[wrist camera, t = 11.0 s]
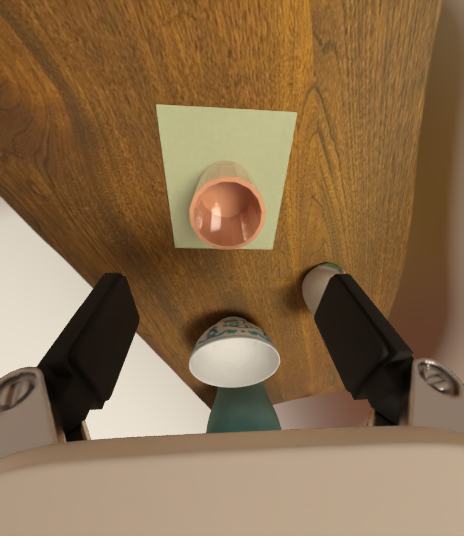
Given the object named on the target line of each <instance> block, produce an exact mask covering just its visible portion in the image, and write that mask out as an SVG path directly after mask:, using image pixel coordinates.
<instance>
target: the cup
mask: <svg viewBox="0 0 464 536" xmlns="http://www.w3.org/2000/svg"><path fill="white" fill-rule="evenodd" d="M189 214H190V224H191V226H192V228H193V229H194V231H195V233H196V235H197V236H198V237H199V238H200V239H201V240H202V241H203V242H205V243H206V244H207V245H209V246H212V247H214V248H217V249H220V250H233V249H237V248H240V247H243V246H246V245H247V244H249V243H250V242H251V241H252V240H254V239H255V238H256V237H257V236H258V234H259V233H260V231H261V229H262V228H263V226H264V222H265V215H266V209H265V205H264V202H263V198H262V196H261V194H260V192H259V190H258V188H257V186H256V184H255V182H254V180H253V178H252V176H251V175H250V174H249V172H248V171H247V170H246V169H245V168H244V167H243V166H241V165H240V164H238V163H236V162H232V161H219V162H216V163H214V164H212V165H210V166H209V167H208V168H207V169H205V171H204V172H203V173H202V174H201V176H200V179H199V182H198V185H197V188H196V191H195V193H194V196H193V199H192V202H191V205H190V208H189Z"/></svg>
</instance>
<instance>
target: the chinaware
mask: <svg viewBox="0 0 464 536" xmlns="http://www.w3.org/2000/svg"><path fill="white" fill-rule="evenodd" d="M279 364H280V357H279V354H278V351H277V349H276V347H275V345H274V344H273V342H272V341H271V339H270V338H269V337H268V335H267V334H266V333H265V332H264V331H263V330H262V329H260V328H259V327H258V326H256V325H254V324H252V323H250V322H247V321H246V320H245V319H243V318H240V317H227V318H224V319H222V320H220V321H219V322H218V323H217V324H215V325H213V326H212V327H210V328H209V329H208V330H207V331H205V332H204V333H203V335H202V336H201V337H200V338H199V340H198V341H197V343H196V345H195V347H194V349H193V351H192V354H191V357H190V360H189V368H190V371H191V373H192V374H193V375H194V376H195V377H196V378H197V379H199V380H200V381H202V382H204V383H207V384H210V385H213V386H218V387H243V386H249V385H253V384H256V383H259V382H261V381H263V380H265V379H267V378H269V377H270V376H271V375H273V374H274V373H275V371H276V370H277V369H278V367H279Z"/></svg>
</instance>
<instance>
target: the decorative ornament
mask: <svg viewBox="0 0 464 536" xmlns="http://www.w3.org/2000/svg"><path fill="white" fill-rule="evenodd" d="M335 274H346V273H345V271H344V270H343V269H342V268H340V267H338V266H337V265H334V264H331V263H328V262H327V263H323V264H320V265H318V266H317V267H316V268H314V269H312V270H311V271H310V272H309V273H308V274H307V275H306V277H305V278H304V281H303V284H302V293H303V297H304V300H305V303H306V305H307V307H308V308H309V310H310V311H311V313H312V314H313V315H315V312H316V310H317V308H318V305H319V303H320V300H321V298H322V296H323V293H324V291H325V289H326V286H327V284H328V281H329V279H330V278H331V277H333V276H334V275H335ZM321 337H322V336H321ZM322 340H323V338H322ZM323 343H324V345H325V342H324V340H323ZM325 346H326V345H325ZM326 348H327V347H326Z"/></svg>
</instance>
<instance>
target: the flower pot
mask: <svg viewBox="0 0 464 536" xmlns="http://www.w3.org/2000/svg"><path fill="white" fill-rule="evenodd" d="M269 430H281V427H280V423H279V420H278V417H277V414H276V412H275V410H274V408H273V406H272V404H271V402H270V400H269V398H268V395H267V393H266V391H265V388H264V383H263V381H261V382H259V383H256V384H253V385H249V386H243V387H218V390H217V395H216V398H215V401H214V404H213V407H212V410H211V413H210V416H209V421H208V425H207V432H206V433H225V432H247V431H269Z"/></svg>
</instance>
